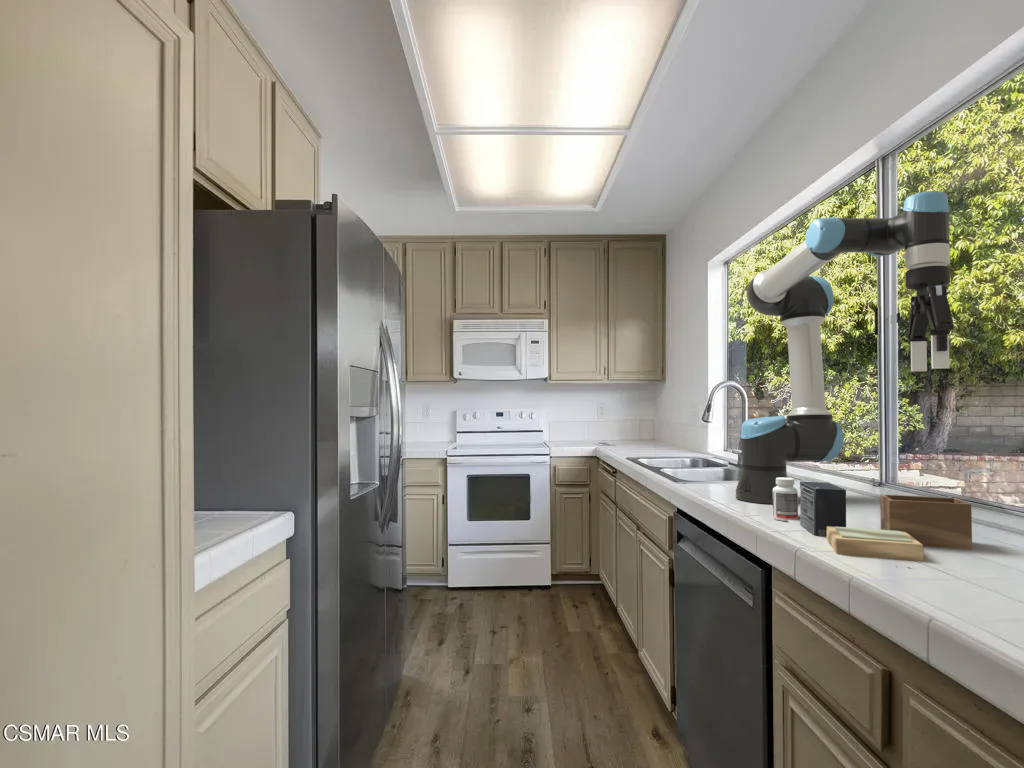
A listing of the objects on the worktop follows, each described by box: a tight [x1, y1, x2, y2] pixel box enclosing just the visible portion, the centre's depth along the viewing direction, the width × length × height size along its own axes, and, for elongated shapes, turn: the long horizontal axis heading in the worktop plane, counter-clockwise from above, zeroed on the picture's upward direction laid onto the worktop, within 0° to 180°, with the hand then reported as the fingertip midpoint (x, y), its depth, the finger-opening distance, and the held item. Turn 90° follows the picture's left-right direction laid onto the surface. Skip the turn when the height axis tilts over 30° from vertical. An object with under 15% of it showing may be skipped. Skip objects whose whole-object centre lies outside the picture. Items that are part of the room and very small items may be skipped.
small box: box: [799, 480, 847, 537], centre depth 121 cm, size 11×6×10 cm, turn 168°
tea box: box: [879, 494, 973, 550], centre depth 111 cm, size 7×13×9 cm, turn 69°
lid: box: [826, 526, 924, 562], centre depth 105 cm, size 10×13×3 cm
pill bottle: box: [772, 477, 799, 522], centre depth 135 cm, size 5×5×10 cm
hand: (929, 370), depth 118 cm, fingers open, 13 cm apart
